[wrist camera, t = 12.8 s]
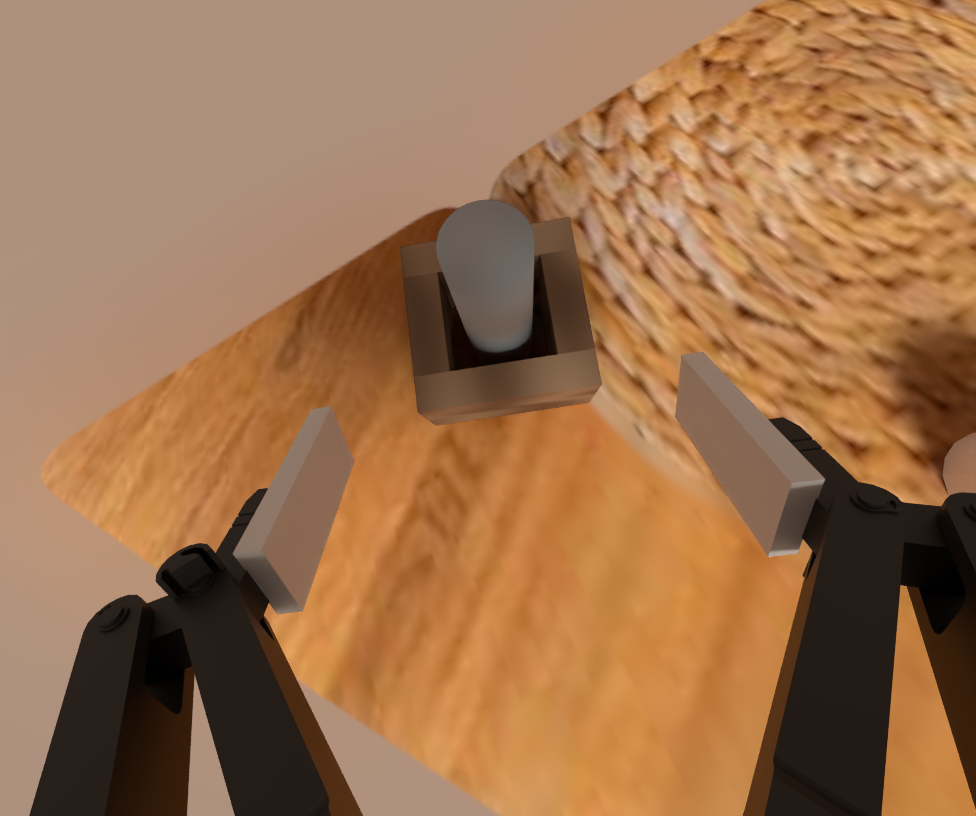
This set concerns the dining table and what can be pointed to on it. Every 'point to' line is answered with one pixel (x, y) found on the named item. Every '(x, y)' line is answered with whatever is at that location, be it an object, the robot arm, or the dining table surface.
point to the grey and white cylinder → (961, 466)
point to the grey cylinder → (490, 277)
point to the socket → (512, 383)
